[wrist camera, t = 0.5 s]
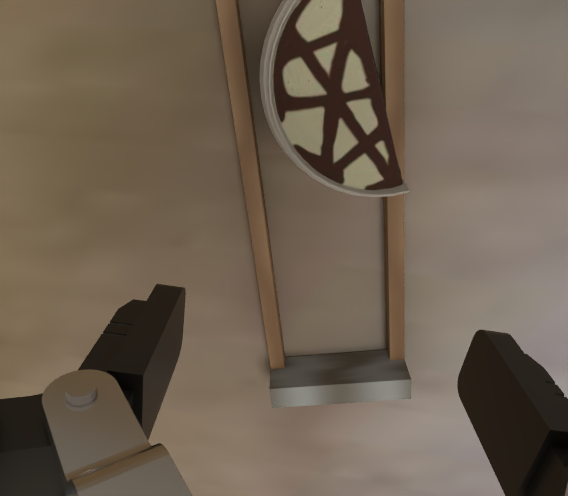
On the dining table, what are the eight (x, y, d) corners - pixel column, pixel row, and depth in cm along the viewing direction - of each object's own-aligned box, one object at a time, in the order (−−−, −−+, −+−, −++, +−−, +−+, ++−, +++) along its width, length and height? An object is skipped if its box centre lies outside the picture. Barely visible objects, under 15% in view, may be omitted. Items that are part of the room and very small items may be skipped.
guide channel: (398, -64, 27) (414, -80, 24) (400, 366, 41) (411, 398, 37) (213, -39, 28) (201, -51, 25) (274, 375, 41) (272, 407, 38)
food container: (241, 5, 29) (217, -11, 20) (334, -30, 28) (352, -64, 19) (299, 182, 34) (300, 233, 25) (380, 157, 33) (412, 201, 24)
